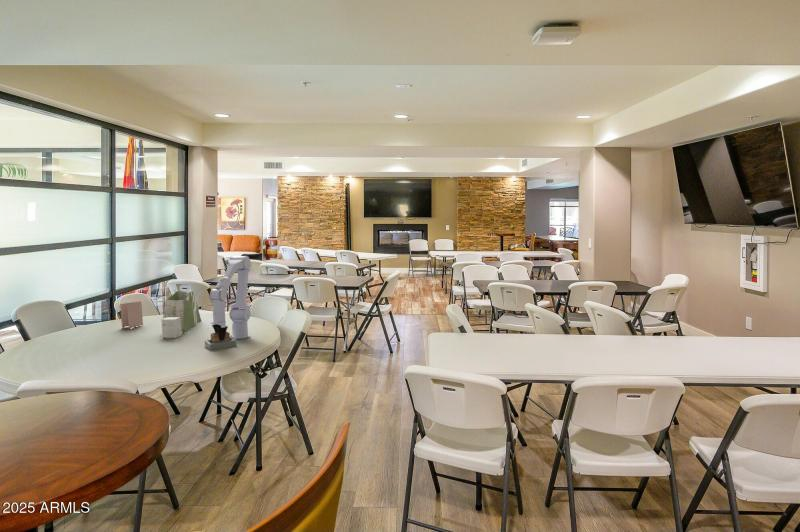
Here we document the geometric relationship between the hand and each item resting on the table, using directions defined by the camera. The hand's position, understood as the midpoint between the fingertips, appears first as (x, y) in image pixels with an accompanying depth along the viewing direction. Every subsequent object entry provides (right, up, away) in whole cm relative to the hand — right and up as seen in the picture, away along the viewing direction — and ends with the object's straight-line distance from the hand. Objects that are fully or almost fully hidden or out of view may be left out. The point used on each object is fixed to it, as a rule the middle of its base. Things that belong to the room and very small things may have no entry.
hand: (220, 339), depth 247 cm
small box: (-34, -2, +21) cm, 40 cm away
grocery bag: (-39, 0, +46) cm, 60 cm away
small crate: (0, -1, 0) cm, 1 cm away
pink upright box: (-68, 0, +45) cm, 82 cm away
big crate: (0, -4, 0) cm, 4 cm away
